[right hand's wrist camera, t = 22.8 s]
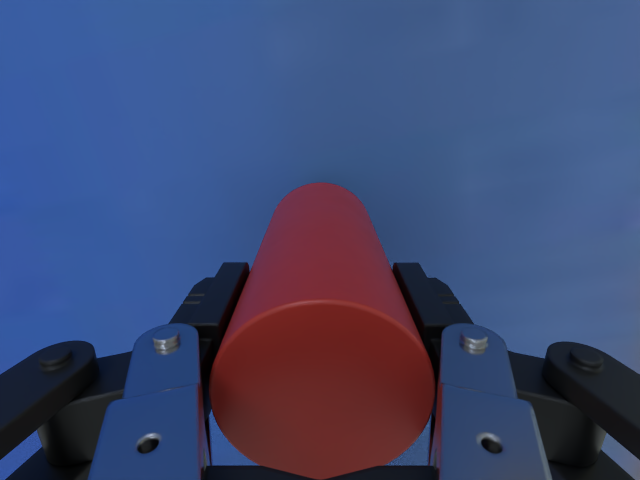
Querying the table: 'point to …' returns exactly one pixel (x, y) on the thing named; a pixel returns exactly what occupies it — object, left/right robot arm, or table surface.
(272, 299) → the cylinder
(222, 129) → the table surface
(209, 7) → the table surface
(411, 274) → the right robot arm
